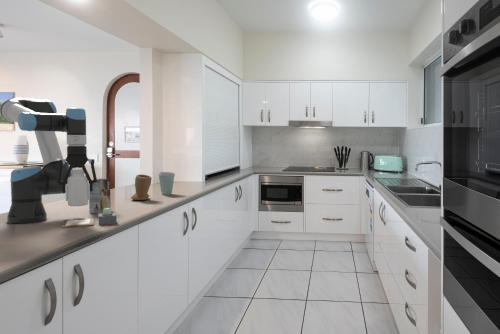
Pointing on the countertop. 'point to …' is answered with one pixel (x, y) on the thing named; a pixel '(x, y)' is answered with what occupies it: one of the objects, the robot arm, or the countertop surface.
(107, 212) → the button
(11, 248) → the countertop surface
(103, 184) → the coffee box
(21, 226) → the countertop surface
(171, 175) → the disposable coffee cup
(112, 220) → the button housing
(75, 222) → the clipboard
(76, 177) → the pill bottle
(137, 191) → the stone cup
